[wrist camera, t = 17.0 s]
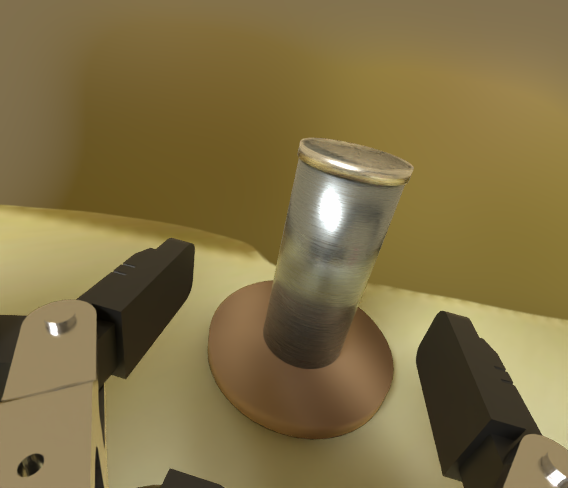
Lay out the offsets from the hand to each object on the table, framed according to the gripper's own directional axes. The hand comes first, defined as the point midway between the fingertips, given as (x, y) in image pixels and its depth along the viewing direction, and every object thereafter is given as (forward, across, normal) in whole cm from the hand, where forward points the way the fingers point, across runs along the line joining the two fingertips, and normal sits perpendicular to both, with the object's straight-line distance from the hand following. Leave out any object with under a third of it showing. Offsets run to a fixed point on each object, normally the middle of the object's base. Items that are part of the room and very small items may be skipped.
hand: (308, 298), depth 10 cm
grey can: (+7, +1, -8) cm, 11 cm away
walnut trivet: (+7, +1, -10) cm, 12 cm away
